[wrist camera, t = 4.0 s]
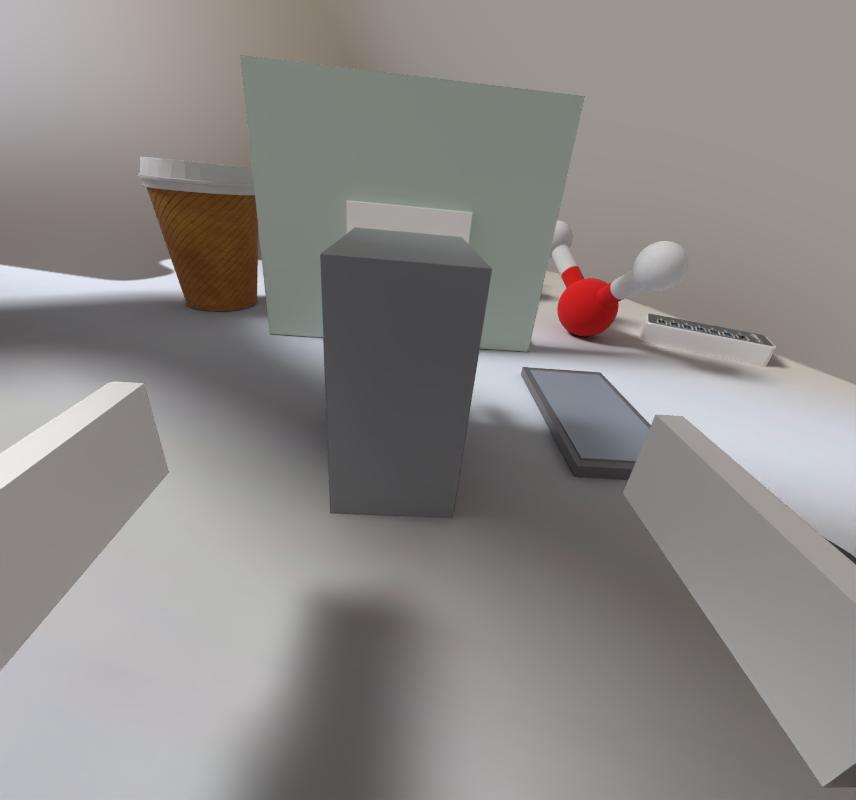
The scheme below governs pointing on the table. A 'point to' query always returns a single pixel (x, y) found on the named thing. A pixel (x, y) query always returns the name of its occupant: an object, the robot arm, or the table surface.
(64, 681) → the table surface
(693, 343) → the multiport hub
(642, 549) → the table surface
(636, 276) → the molecular model
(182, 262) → the disposable coffee cup
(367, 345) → the plug
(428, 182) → the board
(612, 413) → the phone slab
